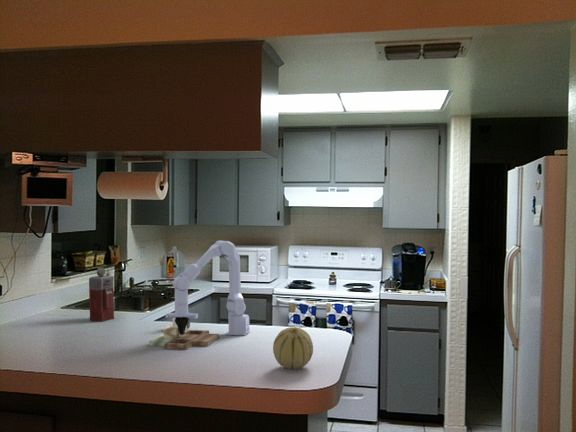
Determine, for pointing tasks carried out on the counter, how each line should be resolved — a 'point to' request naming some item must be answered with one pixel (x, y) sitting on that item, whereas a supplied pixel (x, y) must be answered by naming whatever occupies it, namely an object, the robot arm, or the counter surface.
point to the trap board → (185, 340)
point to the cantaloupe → (293, 348)
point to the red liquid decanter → (101, 297)
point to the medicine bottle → (186, 325)
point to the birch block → (171, 332)
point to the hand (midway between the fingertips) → (182, 334)
